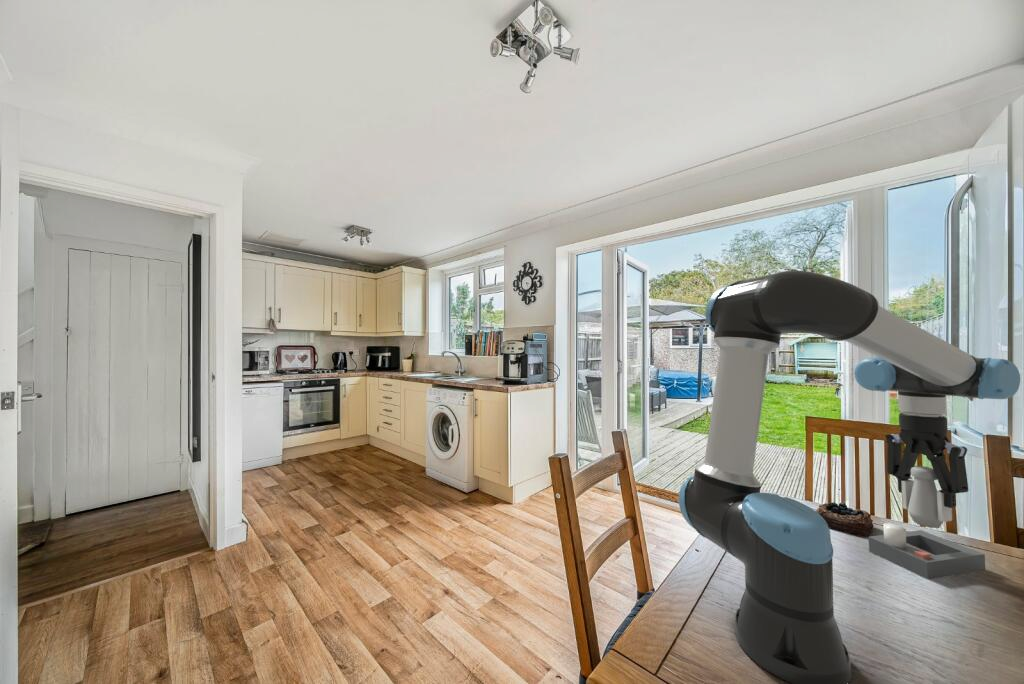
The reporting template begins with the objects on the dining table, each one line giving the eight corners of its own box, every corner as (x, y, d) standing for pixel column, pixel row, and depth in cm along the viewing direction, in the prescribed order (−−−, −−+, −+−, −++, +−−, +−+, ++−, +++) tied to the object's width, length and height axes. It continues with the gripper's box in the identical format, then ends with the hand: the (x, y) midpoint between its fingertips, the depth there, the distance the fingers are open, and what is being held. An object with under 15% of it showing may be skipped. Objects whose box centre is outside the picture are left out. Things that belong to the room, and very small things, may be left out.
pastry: (871, 541, 94) (870, 518, 94) (811, 524, 103) (810, 503, 103) (875, 526, 101) (874, 505, 101) (819, 512, 110) (818, 493, 110)
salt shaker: (954, 531, 82) (951, 472, 82) (923, 529, 83) (920, 471, 83) (930, 519, 87) (927, 464, 88) (901, 517, 88) (899, 463, 89)
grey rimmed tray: (927, 579, 78) (926, 543, 78) (869, 551, 89) (867, 520, 89) (985, 570, 81) (983, 535, 81) (921, 544, 91) (920, 513, 92)
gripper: (993, 420, 77) (998, 532, 76) (887, 407, 95) (891, 496, 95) (965, 422, 76) (970, 536, 75) (863, 408, 94) (867, 499, 94)
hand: (926, 513), depth 85 cm, fingers closed on salt shaker, 6 cm apart
